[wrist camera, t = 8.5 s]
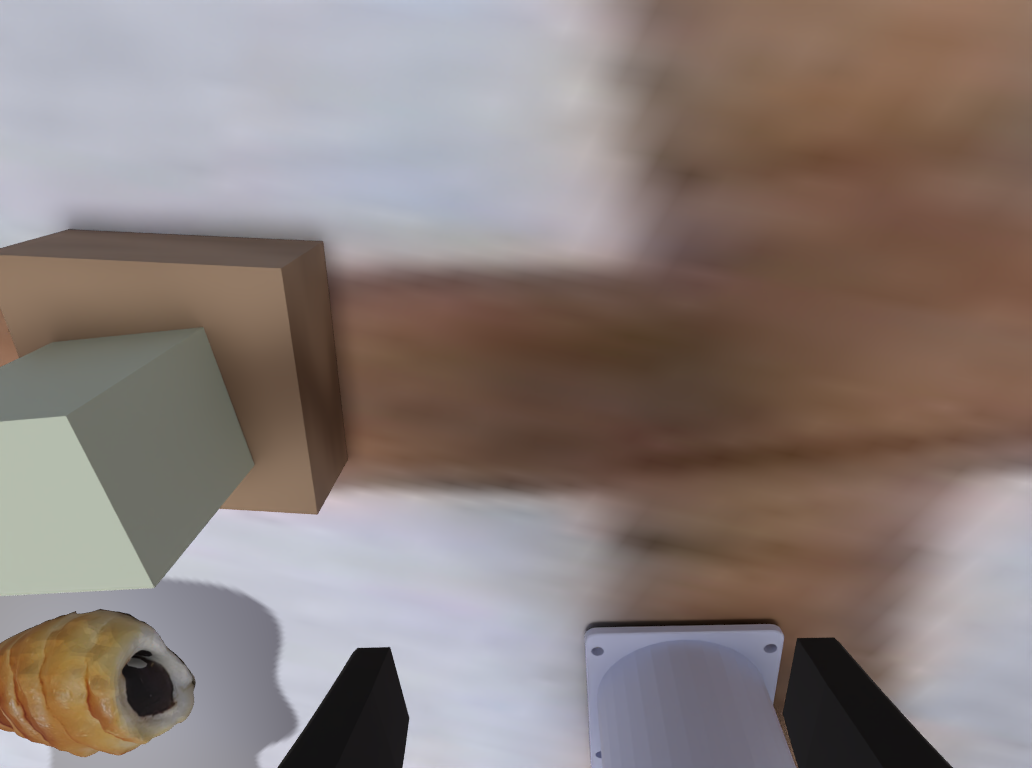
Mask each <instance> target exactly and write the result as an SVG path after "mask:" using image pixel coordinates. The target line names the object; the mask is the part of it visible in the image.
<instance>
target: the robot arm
mask: <svg viewBox="0 0 1032 768" xmlns="http://www.w3.org/2000/svg"><path fill="white" fill-rule="evenodd" d="M783 642H784V635H783V633H782V630H781V629H780V627H779V626H777V625H774V624H743V625H694V626H645V627H596V628H591V629H589V630H588V631H587V632H586V633H585V655H586V676H587V697H588V717H589V738H590V759H591V768H796V766H795V763H794V761H793V758H792V755H791V753H790V750H789V747H788V745H787V742H786V739H785V736H784V734H783V731H782V728H781V726H780V723H779V720H778V718H777V715H776V712H775V709H774V707H773V703H774V697H775V691H776V685H777V679H778V672H779V666H780V660H781V654H782V648H783ZM768 644H769V645H768ZM595 647H599V648H595ZM783 716H784V719H785V723H786V726H787V730H788V733H789V737H790V741H791V744H792V748H793V751H794V754H795V757H796V761H797V764H798V767H799V768H953V767H952V766H951V765H950V764H949V763H948V762H947V761H946V760H945V759H944V758H943V757H942V756H941V755H940V754H939V753H938V752H937V751H936V750H935V748H934V747H933V746H932V745H931V744H930V743H929V742H928V741H927V740H926V739H925V738H924V737H923V736H922V735H921V734H920V733H919V731H918V730H917V729H916V728H915V727H914V726H913V725H912V724H911V723H910V722H909V721H908V719H907V718H906V717H905V716H904V715H903V714H902V713H901V712H900V711H899V709H898V708H897V707H896V706H895V705H894V704H893V703H892V702H891V701H890V700H889V698H888V697H887V696H886V695H885V694H884V693H883V692H882V691H881V689H880V688H879V687H878V686H877V685H876V684H875V683H874V682H873V680H872V679H871V678H870V677H869V676H868V675H867V674H866V672H865V671H864V670H863V669H862V668H861V667H860V666H859V664H858V663H857V662H856V661H855V660H854V659H853V657H852V656H851V655H850V654H849V653H848V652H847V651H846V649H845V648H844V647H843V646H842V645H841V644H840V643H839V642H838V641H837V640H836V639H835V638H797V642H796V647H795V653H794V658H793V663H792V668H791V673H790V679H789V684H788V689H787V694H786V700H785V705H784V710H783ZM408 723H409V715H408V712H407V708H406V704H405V701H404V697H403V693H402V689H401V686H400V682H399V678H398V675H397V671H396V667H395V664H394V660H393V656H392V652H391V649H390V647H381V648H357V649H356V650H355V651H354V652H353V653H352V655H351V657H350V658H349V660H348V662H347V663H346V665H345V666H344V668H343V670H342V671H341V673H340V674H339V676H338V678H337V679H336V681H335V682H334V684H333V686H332V687H331V689H330V690H329V692H328V693H327V695H326V697H325V698H324V700H323V701H322V703H321V704H320V706H319V707H318V709H317V710H316V712H315V713H314V715H313V716H312V718H311V719H310V721H309V723H308V724H307V726H306V727H305V729H304V730H303V731H302V733H301V734H300V736H299V737H298V739H297V740H296V742H295V743H294V744H293V746H292V747H291V749H290V750H289V752H288V753H287V755H286V756H285V758H284V759H283V760H282V762H281V763H280V765H279V766H278V768H402V766H403V760H404V753H405V746H406V738H407V731H408Z"/></svg>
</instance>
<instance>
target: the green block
mask: <svg viewBox="0 0 1032 768" xmlns="http://www.w3.org/2000/svg"><path fill="white" fill-rule="evenodd" d="M253 467H254V462H253V459H252V457H251V454H250V451H249V449H248V446H247V443H246V440H245V438H244V435H243V432H242V430H241V427H240V424H239V422H238V419H237V416H236V414H235V411H234V408H233V405H232V403H231V400H230V397H229V395H228V392H227V389H226V387H225V384H224V381H223V379H222V376H221V373H220V370H219V368H218V365H217V362H216V360H215V357H214V354H213V352H212V349H211V346H210V343H209V341H208V338H207V335H206V333H205V330H204V327H200V328H190V329H180V330H170V331H160V332H150V333H139V334H129V335H119V336H109V337H99V338H89V339H79V340H69V341H59V342H52V343H50V344H48V345H46V346H44V347H41V348H39V349H37V350H35V351H33V352H31V353H29V354H27V355H25V356H23V357H21V358H19V359H16V360H14V361H12V362H10V363H8V364H6V365H4V366H2V367H0V596H11V595H30V594H50V593H69V592H87V591H107V590H125V589H144V588H155V587H156V585H157V584H158V583H159V582H160V581H161V579H162V578H163V577H164V576H165V574H166V573H167V572H168V571H169V570H170V568H171V567H172V566H173V565H174V563H175V562H176V561H177V560H178V559H179V557H180V556H181V555H182V554H183V552H184V551H185V550H186V549H187V548H188V546H189V545H190V544H191V543H192V541H193V540H194V539H195V538H196V536H197V535H198V534H199V533H200V532H201V530H202V529H203V528H204V527H205V525H206V524H207V523H208V522H209V521H210V519H211V518H212V517H213V516H214V514H215V513H216V512H217V511H218V509H219V508H220V507H221V506H222V505H223V503H224V502H225V501H226V500H227V498H228V497H229V496H230V495H231V494H232V492H233V491H234V490H235V489H236V487H237V486H238V485H239V484H240V483H241V481H242V480H243V479H244V478H245V476H246V475H247V474H248V473H249V471H250V470H251V469H252V468H253Z"/></svg>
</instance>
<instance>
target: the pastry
mask: <svg viewBox="0 0 1032 768" xmlns="http://www.w3.org/2000/svg"><path fill="white" fill-rule="evenodd" d="M195 684H196V681H195V677H194V675H193V674H192V673H191V671H190V670H189V669H188V668H187V666H186V665H185V663H184V662H183V661H182V660H181V659H180V658H179V657H178V656H177V655H176V654H175V653H174V652H173V651H171V650H170V649H169V648H167V646H166V645H165V644H164V642H163V640H162V639H161V637H160V636H159V635H158V633H157V632H156V631H155V630H154V629H153V628H152V627H151V626H149V625H148V624H147V623H145V622H143V621H139V620H138V619H136V618H135V617H133V616H132V615H130V614H128V613H122V612H115V611H109V610H102V609H99V610H96V611H93V612H89V613H83V614H77V613H76V611H75V612H72V613H70V614H67V615H62V616H59V617H57V618H55V619H52V620H48V621H45V622H43V623H41V624H39V625H36V626H34V627H32V628H29V629H27V630H25V631H23V632H21V633H18V634H16V635H14V636H12V637H10V638H8V639H6V640H5V641H3V642H2V643H0V729H2V730H4V731H9V732H15V733H16V734H17V735H18V736H20V737H23V738H26V739H28V740H30V741H31V742H36V743H41V744H45V745H47V746H51V747H55V748H56V749H58V750H61V751H67V752H70V753H72V754H74V755H76V756H80V757H87V756H90V755H92V754H95V753H96V752H98V751H102V752H106V753H109V754H114V755H122V754H125V753H126V752H129V751H131V750H133V749H135V748H137V747H138V746H140V745H141V744H146V743H147V742H149V741H150V740H151V739H152V738H154V737H157V736H159V735H161V734H163V733H165V732H166V731H168V730H170V729H171V728H172V727H173V726H174V725H176V724H177V723H181V722H183V721H184V720H186V718H187V717H188V716H189V714H190V713H191V710H192V708H193V705H194V694H193V690H194V688H195Z"/></svg>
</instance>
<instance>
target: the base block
mask: <svg viewBox="0 0 1032 768" xmlns="http://www.w3.org/2000/svg"><path fill="white" fill-rule="evenodd" d="M0 308H1V311H2V313H3V316H4V319H5V321H6V324H7V327H8V329H9V332H10V335H11V337H12V340H13V342H14V345H15V348H16V350H17V353H18V356H19V358H21V357H23V356H25V355H27V354H29V353H31V352H33V351H35V350H37V349H39V348H41V347H44V346H46V345H48V344H50V343H52V342H59V341H69V340H79V339H89V338H99V337H109V336H119V335H129V334H139V333H150V332H160V331H170V330H180V329H190V328H200V327H204V330H205V333H206V335H207V338H208V341H209V343H210V346H211V349H212V352H213V354H214V357H215V360H216V362H217V365H218V368H219V370H220V373H221V376H222V379H223V381H224V384H225V387H226V389H227V392H228V395H229V397H230V400H231V403H232V405H233V408H234V411H235V414H236V416H237V419H238V422H239V424H240V427H241V430H242V432H243V435H244V438H245V440H246V443H247V446H248V449H249V451H250V454H251V457H252V459H253V462H254V467H253V468H252V469H251V470H250V471H249V473H248V474H247V475H246V476H245V478H244V479H243V480H242V481H241V483H240V484H239V485H238V486H237V487H236V489H235V490H234V491H233V492H232V494H231V495H230V496H229V497H228V498H227V500H226V501H225V502H224V503H223V505H222V506H221V507H220V508H219V509H235V510H251V511H268V512H284V513H301V514H318V513H319V511H320V509H321V507H322V505H323V504H324V502H325V500H326V498H327V496H328V495H329V493H330V491H331V489H332V487H333V486H334V484H335V482H336V480H337V478H338V476H339V475H340V473H341V471H342V469H343V467H344V466H345V464H346V462H347V460H348V458H347V450H346V441H345V432H344V423H343V414H342V405H341V396H340V387H339V378H338V369H337V360H336V351H335V343H334V334H333V325H332V316H331V307H330V298H329V289H328V280H327V271H326V262H325V253H324V244H323V241H305V240H284V239H263V238H241V237H220V236H198V235H177V234H156V233H134V232H113V231H92V230H70V229H68V230H65V231H61V232H58V233H54V234H50V235H47V236H43V237H39V238H36V239H32V240H29V241H25V242H21V243H18V244H14V245H11V246H7V247H3V248H0Z"/></svg>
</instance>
